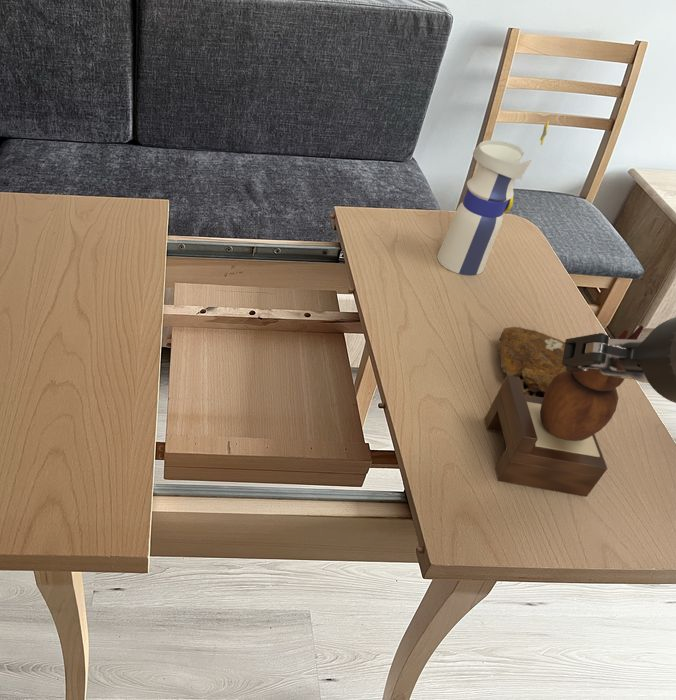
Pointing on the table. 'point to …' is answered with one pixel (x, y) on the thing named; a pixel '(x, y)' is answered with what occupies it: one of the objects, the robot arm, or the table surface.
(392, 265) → the table surface
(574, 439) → the wooden figurine
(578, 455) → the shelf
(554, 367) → the decorative rock
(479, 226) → the water bottle
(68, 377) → the table surface
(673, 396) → the robot arm
